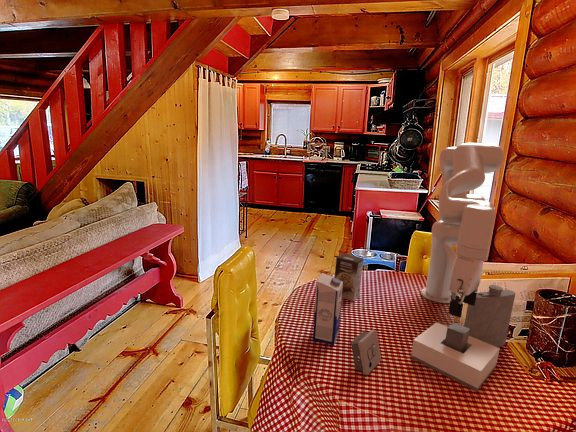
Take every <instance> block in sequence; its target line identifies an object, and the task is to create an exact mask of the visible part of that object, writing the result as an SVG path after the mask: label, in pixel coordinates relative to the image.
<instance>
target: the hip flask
mask: <svg viewBox="0 0 576 432" xmlns="http://www.w3.org/2000/svg"><path fill="white" fill-rule="evenodd" d="M476 293H477V296H476V301H475V305H474V306H472V305H469V304H467V306H466V307H467V308H466V312H465V313H466V314H465V318H464V323H463V326H464V327H467V328H469V329H470V331H469V336H471V337H473V338H476V339H478V340H481V341H483V342H486V343H488V344H490V345H493V346H495V347H498V348H501V347H503V346H506V341H507V336H508V331H509V327H510V322H511V317H512V312H513V309H514V303H515V302H514V301H515V298H516V292H515V291H514V290H510V289H503V287H502V286H499V285H497V284H490V285H488V291H482V292H476Z"/></svg>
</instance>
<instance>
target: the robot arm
mask: <svg viewBox="0 0 576 432" xmlns="http://www.w3.org/2000/svg"><path fill="white" fill-rule="evenodd" d="M504 158H505V154H504V151H503V148H502V147H501V146H500V145H498V144H496V143H484V142H481V143H479V142H465V143H461V144H459V145H457V146H451V147H450V146H448V147H445V148H443V149H442V150H441V151H440V153H439V158H438V159H439V161H438V162H439V168H440V173H441V177H442V185H441V189H440V191H439V194H438V195H439V196H438V217H439V219H440V220H437V221H435V222H434V223H433V224H432V227H431V250H430V256H429V257H430V258H429V265H428V271H427V272H428V273H427V277H426V278H427V279H426V284H425V285H426V286H425V287H424V288H422V289H421V293H420V294H421V295H422V296H423V298H425V299H427V300H428V301H432V302H435V303H440V304H449V307H448V312H447V313H448V314H449V315H452V316H454V317H457V318H462V313H463V308H464V304H466V305H468V304H469V305H472V306H474V305H475V301H476V296H477V293H478V291H479V290H478V289H479V286H480V284H481V280H482V275H483V267H484V262H486V261H487V260H488V256H489V251H490V245H491V241H492V235H493V231H494V230H493V229H494V225H495V220H496V219H495V218H496V214H497V211H496V207H495V206H494V204H493V202H491V201H489V200H486V199H485V196H484V197H483V196H482V195H480V194H474V193H473V194H470V193H467V192H470V191H474V190H476V189H479V188H480V187H481V186H483V184H484V182H485V180H486V174H488V173H489V174H490V173H494V172H497V171H499V170H500V169H501V167H502V166H503V164H504ZM452 247H456V249H455V251H454V249H453V248H452ZM459 295H460V296H459Z"/></svg>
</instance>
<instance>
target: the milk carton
mask: <svg viewBox="0 0 576 432" xmlns="http://www.w3.org/2000/svg"><path fill="white" fill-rule="evenodd" d="M342 287H343V282H342V281H340V280H338V279H336V278H335V276H332V275H329V274H326V273H324V272H321V274H320V275H319V277H318V278H317V280H316V284H315V300H314V301H315V302H314V316H313V317H314V318H313V331H312V341H313V342H317V343H322V344H326V345H330V346H335V345H336V341H337V339H338V336H339V333H340V321H341V310H342V309H341V308H342V299H343V298H342Z"/></svg>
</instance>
